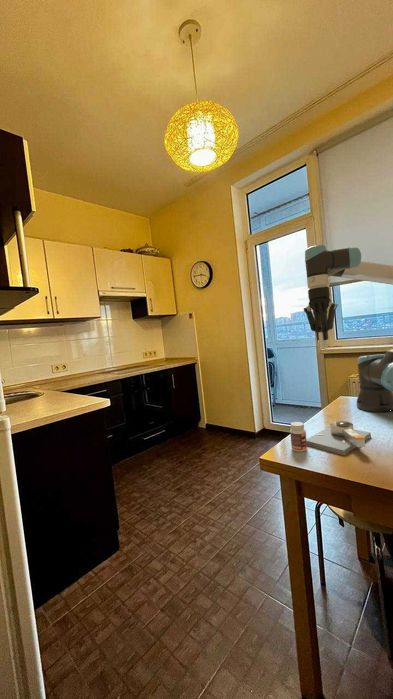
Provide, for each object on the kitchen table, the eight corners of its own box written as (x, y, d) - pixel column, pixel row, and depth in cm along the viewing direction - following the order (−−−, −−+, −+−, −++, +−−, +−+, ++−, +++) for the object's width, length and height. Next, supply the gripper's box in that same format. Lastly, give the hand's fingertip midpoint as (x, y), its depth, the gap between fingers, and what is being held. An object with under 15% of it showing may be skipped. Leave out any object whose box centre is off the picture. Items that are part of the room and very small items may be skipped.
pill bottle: (305, 453, 90) (303, 426, 90) (290, 451, 93) (287, 425, 92) (308, 447, 94) (306, 421, 94) (293, 445, 97) (291, 420, 96)
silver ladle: (327, 430, 102) (326, 419, 102) (347, 428, 101) (346, 417, 101) (349, 449, 86) (348, 436, 85) (373, 447, 85) (372, 434, 85)
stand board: (332, 429, 107) (332, 424, 107) (372, 437, 96) (372, 432, 96) (305, 444, 96) (304, 439, 96) (346, 455, 85) (345, 450, 85)
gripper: (297, 290, 114) (302, 350, 115) (329, 284, 103) (334, 349, 105) (308, 290, 118) (313, 347, 120) (339, 284, 108) (345, 347, 109)
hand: (323, 348), depth 112 cm, fingers closed
